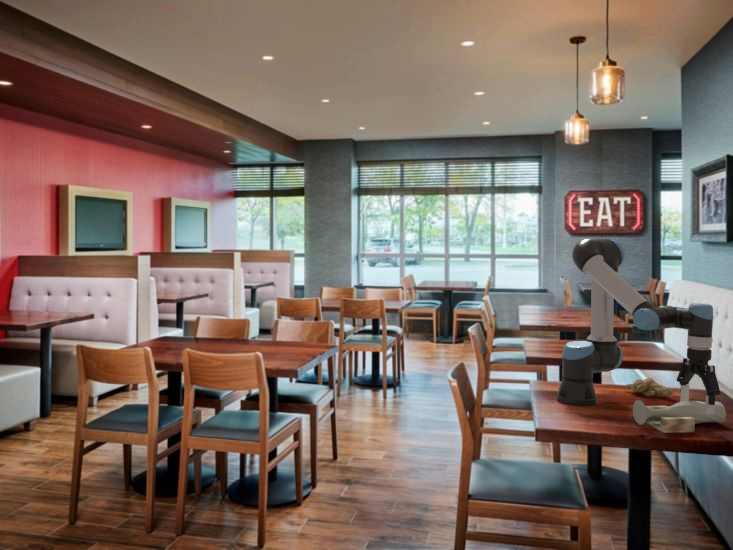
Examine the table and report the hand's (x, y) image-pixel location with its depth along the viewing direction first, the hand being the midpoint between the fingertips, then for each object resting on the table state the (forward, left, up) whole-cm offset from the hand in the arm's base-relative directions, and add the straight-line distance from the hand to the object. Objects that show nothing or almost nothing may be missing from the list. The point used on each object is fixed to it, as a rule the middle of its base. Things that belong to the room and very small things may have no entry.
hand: (696, 408), depth 213 cm
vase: (-18, -9, -1) cm, 21 cm away
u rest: (-10, -6, -6) cm, 13 cm away
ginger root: (-15, +39, -6) cm, 42 cm away
